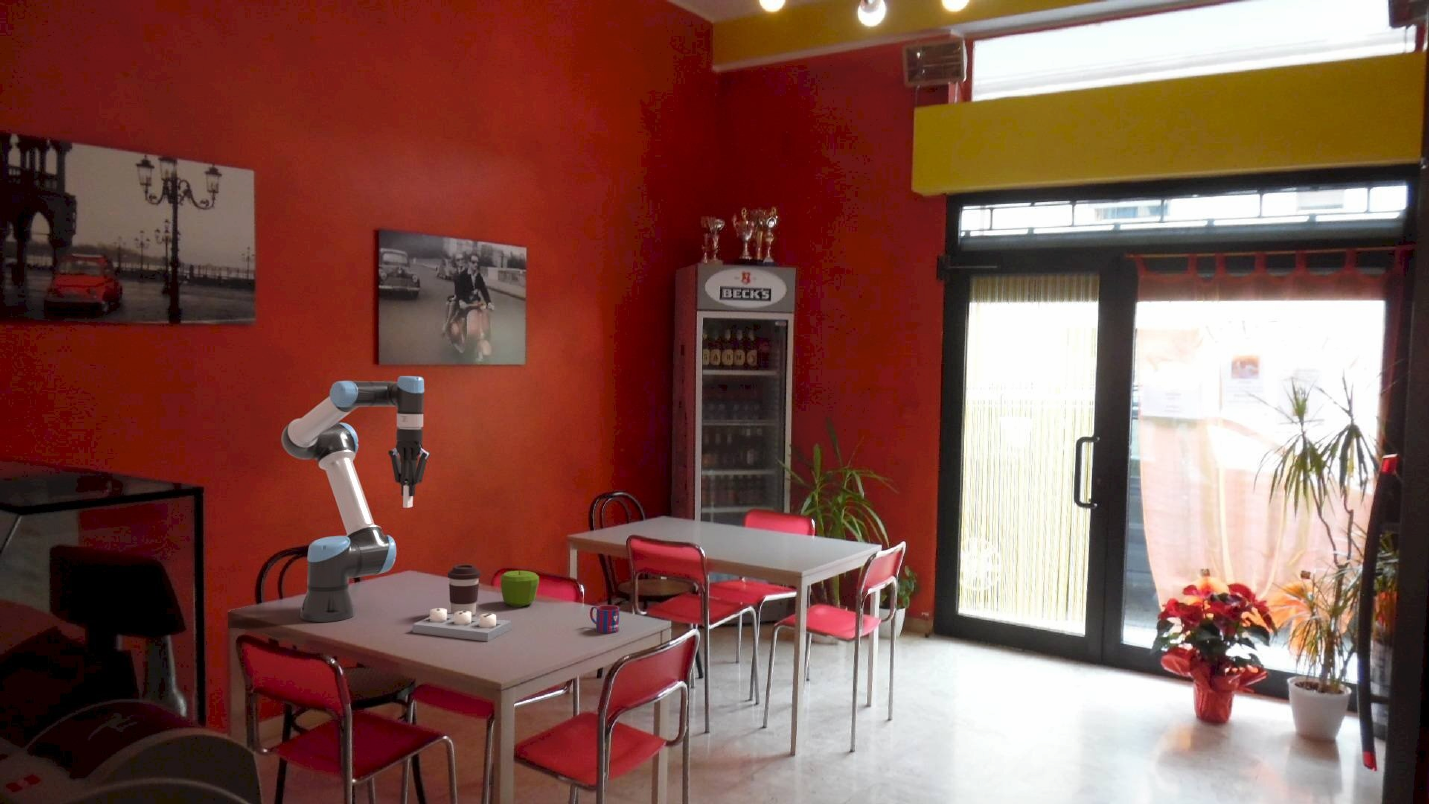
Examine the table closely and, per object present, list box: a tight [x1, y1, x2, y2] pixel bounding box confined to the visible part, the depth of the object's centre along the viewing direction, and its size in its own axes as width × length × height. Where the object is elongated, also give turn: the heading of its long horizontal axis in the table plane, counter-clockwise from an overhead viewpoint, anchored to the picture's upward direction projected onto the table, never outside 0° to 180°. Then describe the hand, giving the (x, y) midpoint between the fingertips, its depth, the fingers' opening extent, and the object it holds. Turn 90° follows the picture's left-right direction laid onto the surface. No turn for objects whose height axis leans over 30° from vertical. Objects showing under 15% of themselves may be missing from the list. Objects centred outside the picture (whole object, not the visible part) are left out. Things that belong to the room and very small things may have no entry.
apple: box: [500, 569, 540, 608], centre depth 317 cm, size 12×12×11 cm
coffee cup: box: [447, 564, 482, 617], centre depth 301 cm, size 10×10×15 cm
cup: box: [589, 604, 620, 634], centre depth 290 cm, size 7×10×7 cm
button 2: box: [454, 611, 471, 626], centre depth 284 cm, size 5×5×5 cm
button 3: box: [478, 612, 497, 629], centre depth 282 cm, size 5×5×5 cm
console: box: [412, 613, 512, 642], centre depth 284 cm, size 24×14×2 cm, turn 74°
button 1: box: [429, 607, 448, 623], centre depth 286 cm, size 5×5×5 cm
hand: (407, 506), depth 291 cm, fingers closed
